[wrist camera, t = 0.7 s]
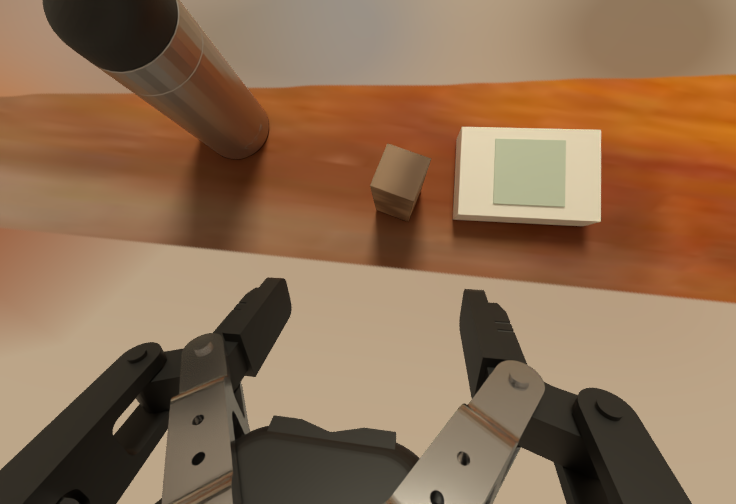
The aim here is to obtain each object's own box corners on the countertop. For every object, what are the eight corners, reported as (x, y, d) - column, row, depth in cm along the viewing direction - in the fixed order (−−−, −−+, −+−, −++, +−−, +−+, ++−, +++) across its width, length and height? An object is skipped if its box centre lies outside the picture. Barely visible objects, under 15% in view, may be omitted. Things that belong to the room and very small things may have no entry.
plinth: (452, 219, 37) (458, 213, 34) (456, 138, 38) (462, 125, 34) (583, 226, 35) (602, 221, 32) (583, 142, 36) (602, 129, 33)
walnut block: (376, 209, 38) (370, 185, 28) (388, 178, 38) (387, 143, 28) (408, 221, 37) (413, 201, 27) (420, 190, 37) (431, 158, 28)
